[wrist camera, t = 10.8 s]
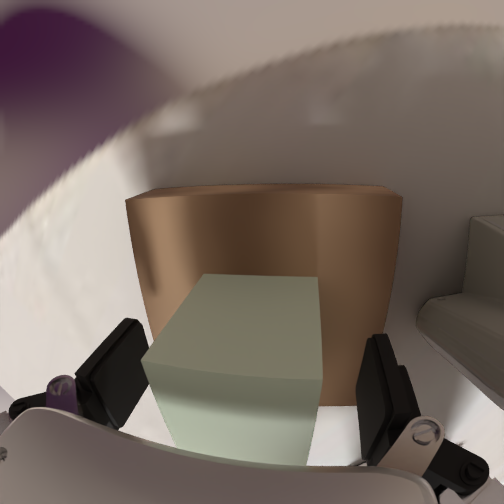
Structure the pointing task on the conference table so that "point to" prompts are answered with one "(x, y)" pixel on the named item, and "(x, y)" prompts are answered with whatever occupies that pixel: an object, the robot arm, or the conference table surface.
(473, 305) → the digital clock
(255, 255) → the wooden square slab
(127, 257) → the conference table surface
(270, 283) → the sage block
